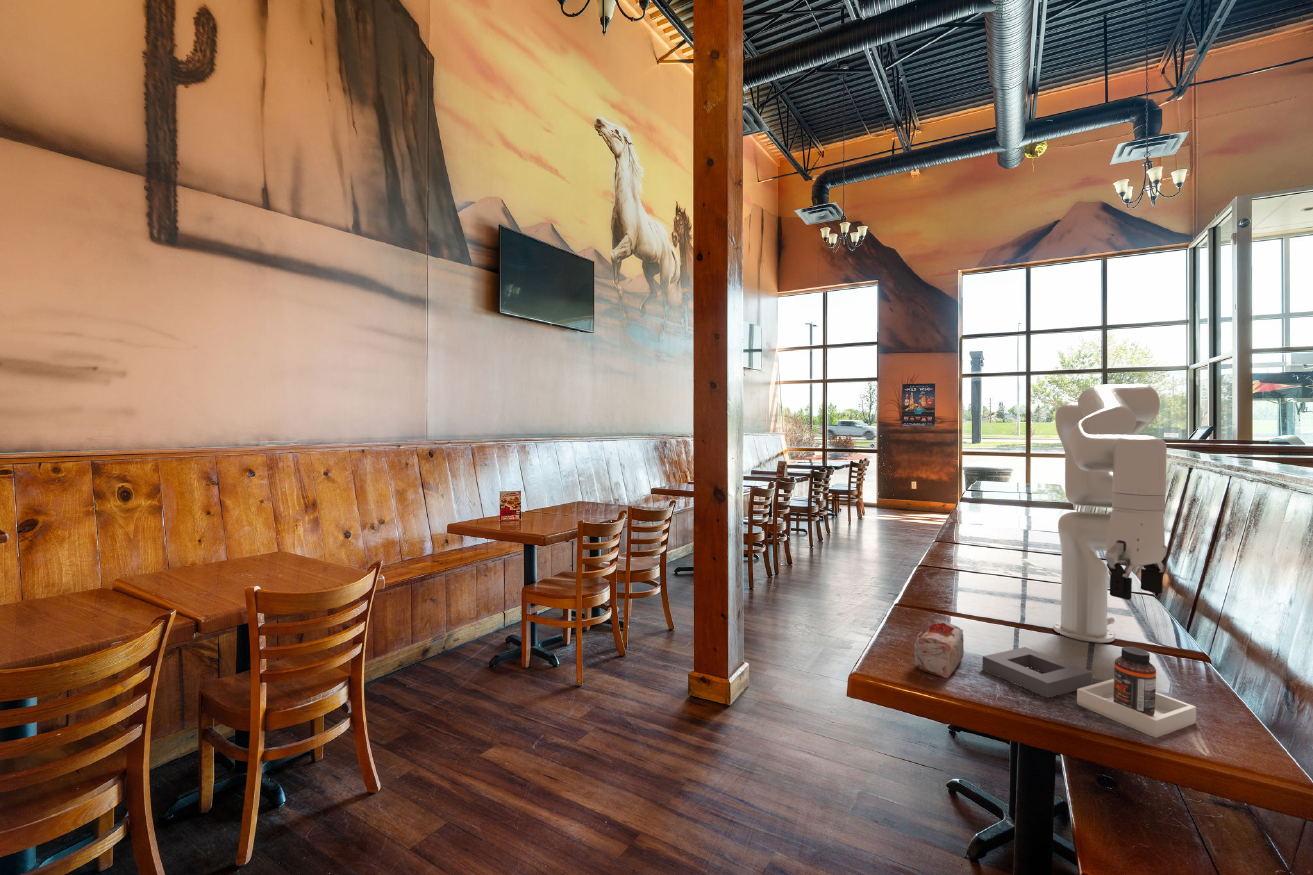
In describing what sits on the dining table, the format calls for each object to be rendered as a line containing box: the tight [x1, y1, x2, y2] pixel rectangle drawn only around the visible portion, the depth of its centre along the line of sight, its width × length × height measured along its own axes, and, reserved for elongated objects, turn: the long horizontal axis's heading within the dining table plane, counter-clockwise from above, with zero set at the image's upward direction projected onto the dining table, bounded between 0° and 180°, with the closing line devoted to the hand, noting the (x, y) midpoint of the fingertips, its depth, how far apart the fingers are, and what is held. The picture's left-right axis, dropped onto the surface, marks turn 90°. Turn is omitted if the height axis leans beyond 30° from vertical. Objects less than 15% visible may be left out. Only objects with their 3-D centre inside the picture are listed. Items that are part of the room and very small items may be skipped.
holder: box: [982, 646, 1093, 699], centre depth 120 cm, size 14×14×3 cm
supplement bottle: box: [1113, 646, 1157, 716], centre depth 105 cm, size 6×6×11 cm
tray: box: [1076, 678, 1197, 739], centre depth 105 cm, size 13×13×3 cm
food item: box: [913, 620, 965, 679], centre depth 125 cm, size 14×8×10 cm, turn 140°
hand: (1136, 594), depth 105 cm, fingers open, 9 cm apart
